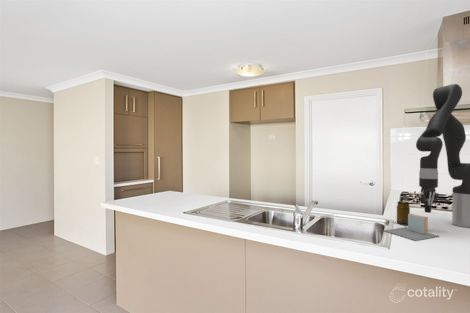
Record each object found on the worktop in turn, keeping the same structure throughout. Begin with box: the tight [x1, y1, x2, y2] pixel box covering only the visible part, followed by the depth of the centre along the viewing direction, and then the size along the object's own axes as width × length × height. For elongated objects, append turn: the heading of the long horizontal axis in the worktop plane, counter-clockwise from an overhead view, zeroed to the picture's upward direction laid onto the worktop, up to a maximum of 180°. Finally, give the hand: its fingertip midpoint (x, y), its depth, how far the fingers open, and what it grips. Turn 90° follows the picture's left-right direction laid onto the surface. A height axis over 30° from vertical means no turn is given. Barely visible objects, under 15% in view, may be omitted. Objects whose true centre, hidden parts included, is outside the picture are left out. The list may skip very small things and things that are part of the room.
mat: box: [382, 226, 440, 242], centre depth 127 cm, size 16×16×1 cm
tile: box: [407, 213, 429, 235], centre depth 129 cm, size 2×8×8 cm, turn 21°
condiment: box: [393, 200, 411, 227], centre depth 145 cm, size 7×8×12 cm
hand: (427, 212), depth 132 cm, fingers closed
